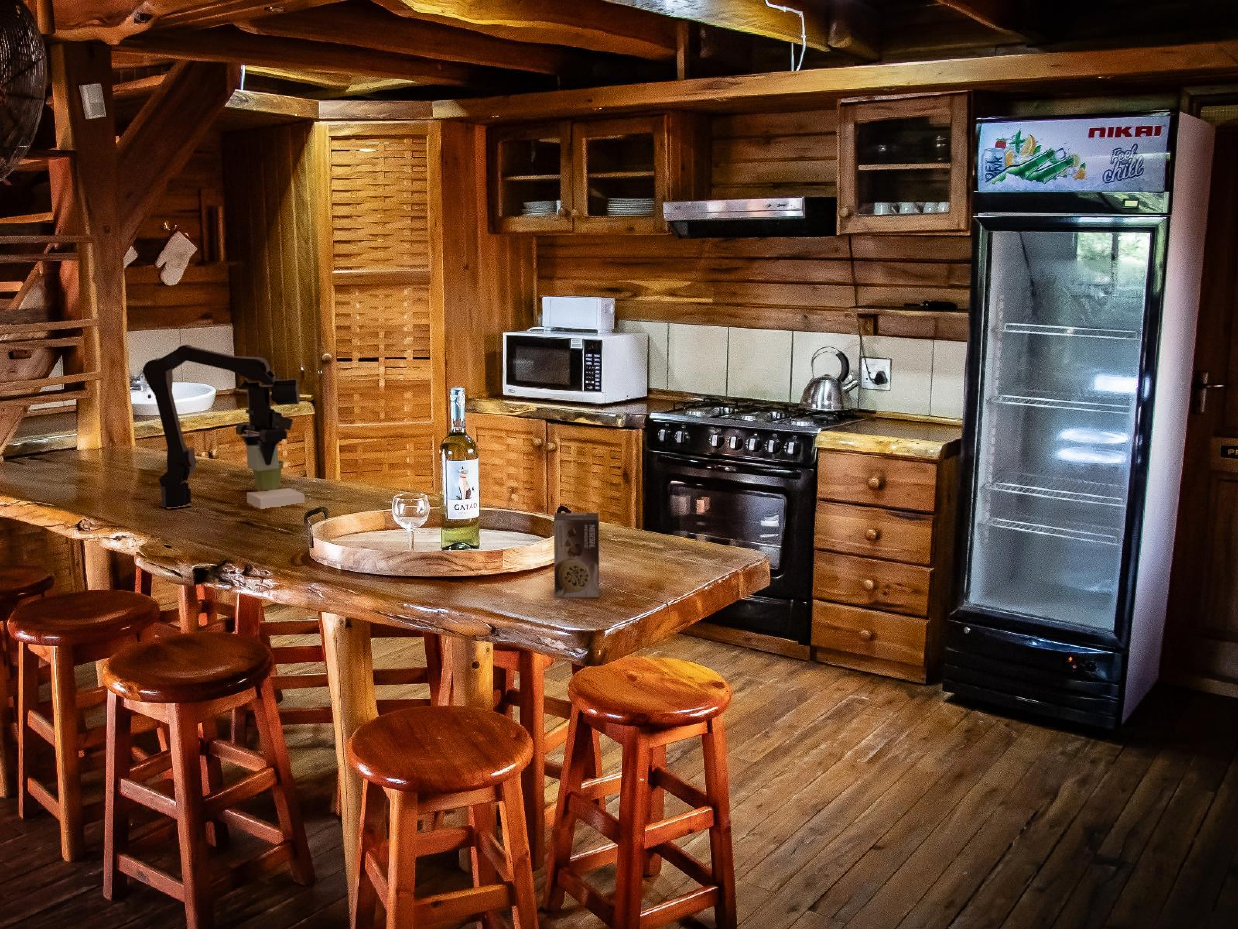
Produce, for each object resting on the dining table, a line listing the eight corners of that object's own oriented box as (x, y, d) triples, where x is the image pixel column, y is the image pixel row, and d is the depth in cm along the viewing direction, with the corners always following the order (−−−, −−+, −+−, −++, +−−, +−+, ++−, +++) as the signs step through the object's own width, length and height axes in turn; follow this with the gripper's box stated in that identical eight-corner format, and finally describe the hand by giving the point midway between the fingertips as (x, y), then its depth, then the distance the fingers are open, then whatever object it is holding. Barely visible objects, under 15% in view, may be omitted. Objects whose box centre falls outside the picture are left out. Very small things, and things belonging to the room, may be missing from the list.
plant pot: (292, 491, 340) (291, 461, 338) (266, 496, 332) (265, 466, 330) (269, 488, 344) (268, 458, 343) (243, 493, 337) (242, 462, 335)
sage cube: (257, 470, 314) (256, 448, 312) (247, 468, 318) (246, 445, 317) (278, 468, 317) (277, 445, 316) (268, 465, 322) (267, 443, 321)
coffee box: (598, 589, 243) (599, 512, 241) (599, 598, 237) (600, 519, 234) (553, 589, 243) (554, 511, 240) (553, 598, 237) (553, 518, 234)
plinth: (260, 513, 312) (260, 498, 311) (247, 507, 320) (246, 492, 319) (304, 508, 319) (304, 494, 318) (290, 502, 327) (290, 488, 326)
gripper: (304, 405, 313) (307, 464, 316) (271, 399, 327) (275, 455, 330) (264, 409, 306) (268, 469, 309) (233, 403, 320) (236, 460, 322)
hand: (263, 463), depth 317 cm, fingers closed on sage cube, 6 cm apart
